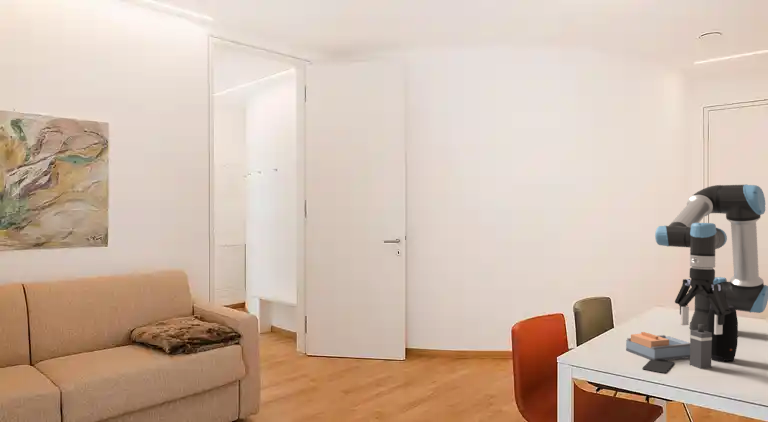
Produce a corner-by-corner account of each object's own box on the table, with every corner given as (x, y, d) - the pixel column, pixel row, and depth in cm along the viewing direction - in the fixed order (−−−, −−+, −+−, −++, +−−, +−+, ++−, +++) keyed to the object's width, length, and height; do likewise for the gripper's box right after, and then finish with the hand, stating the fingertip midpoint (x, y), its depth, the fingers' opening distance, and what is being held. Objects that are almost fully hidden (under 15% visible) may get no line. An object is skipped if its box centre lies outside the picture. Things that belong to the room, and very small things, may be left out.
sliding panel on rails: (668, 346, 212) (668, 334, 212) (698, 356, 199) (699, 343, 198) (626, 350, 206) (626, 337, 206) (654, 361, 193) (654, 347, 193)
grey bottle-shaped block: (699, 363, 190) (700, 322, 190) (711, 367, 186) (712, 325, 185) (689, 364, 189) (690, 323, 189) (700, 368, 185) (701, 326, 184)
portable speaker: (740, 363, 190) (741, 308, 189) (710, 361, 193) (711, 306, 192) (732, 356, 198) (733, 303, 198) (703, 354, 201) (704, 302, 200)
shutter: (648, 339, 207) (648, 330, 206) (668, 346, 197) (669, 336, 197) (630, 341, 204) (630, 331, 204) (651, 348, 195) (651, 338, 195)
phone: (641, 368, 184) (652, 357, 195) (641, 371, 184) (652, 360, 195) (665, 373, 179) (675, 361, 191) (665, 375, 179) (675, 364, 191)
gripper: (664, 263, 197) (663, 322, 198) (726, 272, 173) (724, 339, 174) (681, 263, 199) (680, 320, 200) (744, 272, 176) (742, 337, 176)
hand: (700, 329), depth 187 cm, fingers open, 13 cm apart
